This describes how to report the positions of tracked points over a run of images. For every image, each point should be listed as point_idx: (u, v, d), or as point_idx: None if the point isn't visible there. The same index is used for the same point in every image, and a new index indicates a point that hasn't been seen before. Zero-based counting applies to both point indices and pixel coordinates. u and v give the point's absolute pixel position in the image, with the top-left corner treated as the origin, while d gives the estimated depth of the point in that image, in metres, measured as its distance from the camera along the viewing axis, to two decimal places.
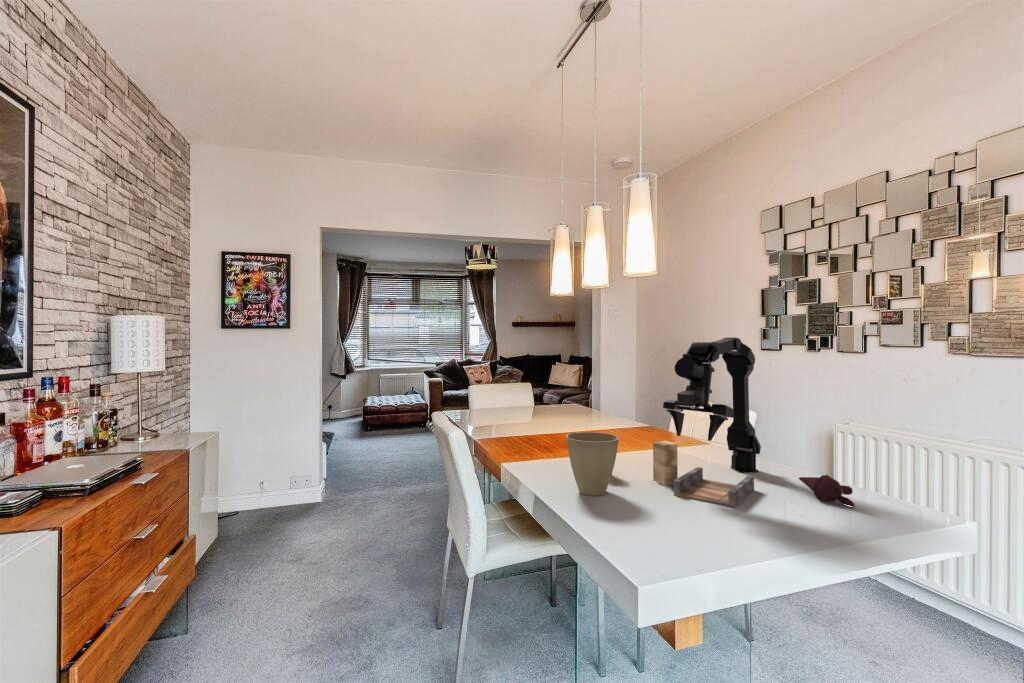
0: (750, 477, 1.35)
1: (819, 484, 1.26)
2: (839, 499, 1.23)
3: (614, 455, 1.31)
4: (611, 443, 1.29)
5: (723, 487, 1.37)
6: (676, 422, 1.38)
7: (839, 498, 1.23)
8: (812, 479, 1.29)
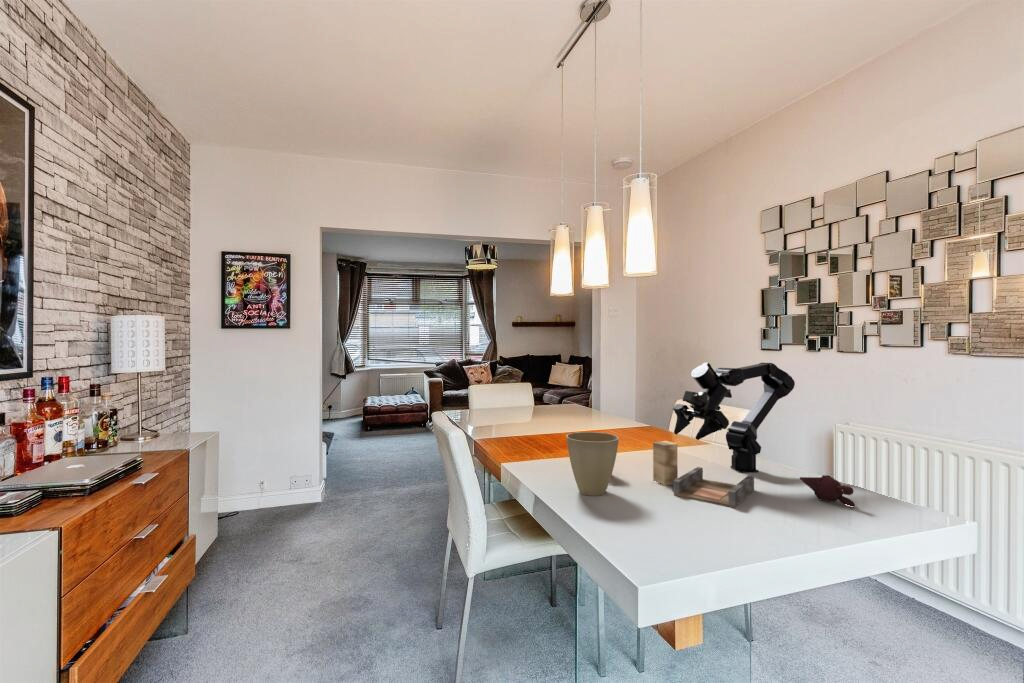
0: (750, 477, 1.35)
1: (820, 484, 1.26)
2: (840, 499, 1.23)
3: (614, 455, 1.31)
4: (611, 443, 1.29)
5: (723, 487, 1.37)
6: (678, 422, 1.52)
7: (840, 498, 1.23)
8: (813, 479, 1.29)
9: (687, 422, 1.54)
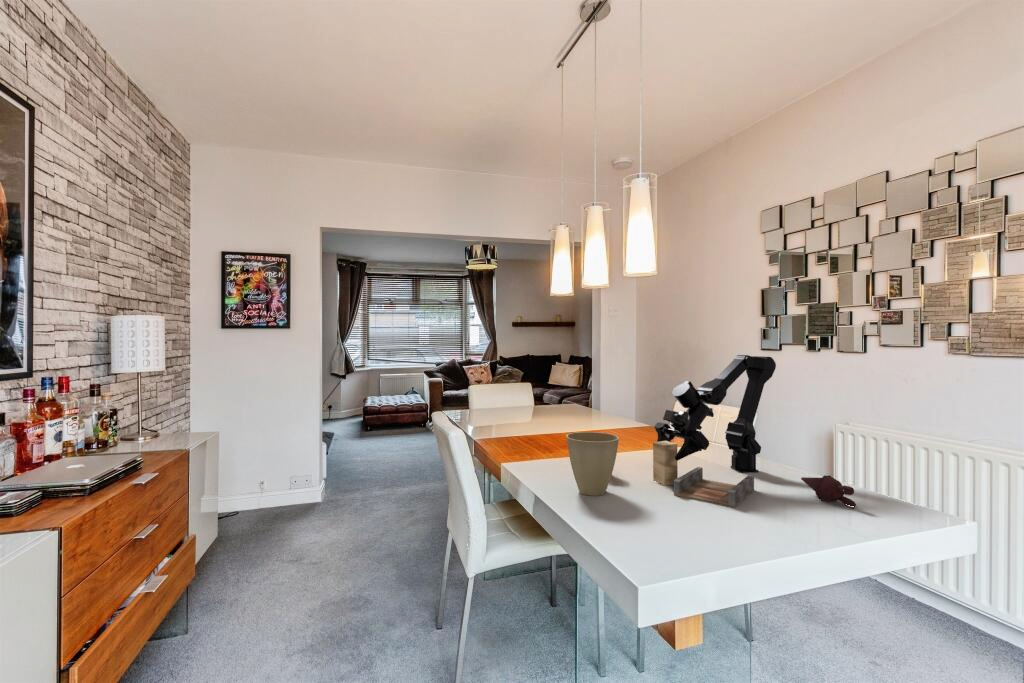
0: (750, 477, 1.35)
1: (821, 484, 1.26)
2: (841, 499, 1.23)
3: (614, 455, 1.31)
4: (611, 443, 1.29)
5: (723, 487, 1.37)
6: (658, 441, 1.49)
7: (841, 498, 1.23)
8: (814, 479, 1.29)
9: None
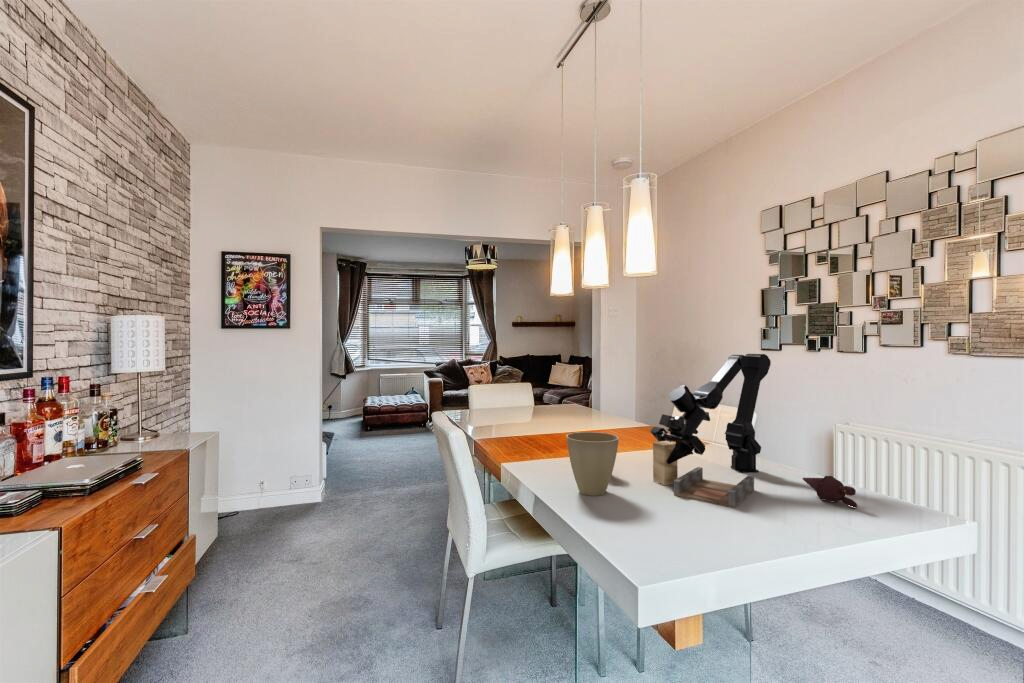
0: (750, 477, 1.35)
1: (822, 484, 1.25)
2: (842, 500, 1.23)
3: (614, 455, 1.31)
4: (611, 443, 1.29)
5: (723, 487, 1.37)
6: None
7: (842, 499, 1.23)
8: (815, 480, 1.29)
9: None
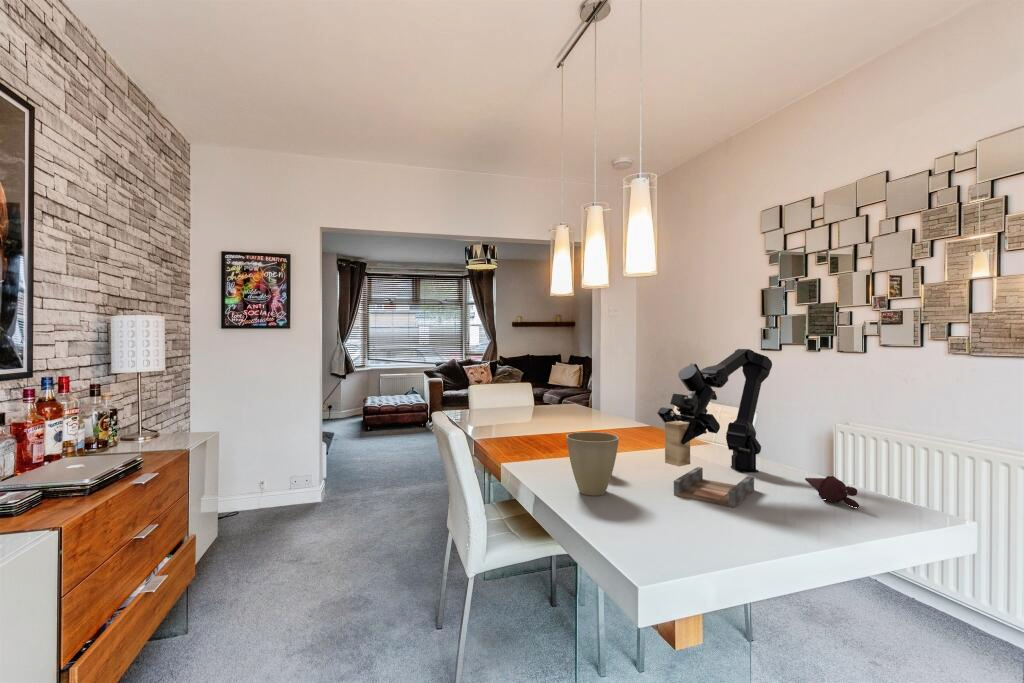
0: (750, 477, 1.35)
1: (824, 484, 1.25)
2: (844, 500, 1.22)
3: (614, 455, 1.31)
4: (611, 443, 1.29)
5: (723, 487, 1.37)
6: None
7: (844, 499, 1.22)
8: (817, 480, 1.29)
9: None
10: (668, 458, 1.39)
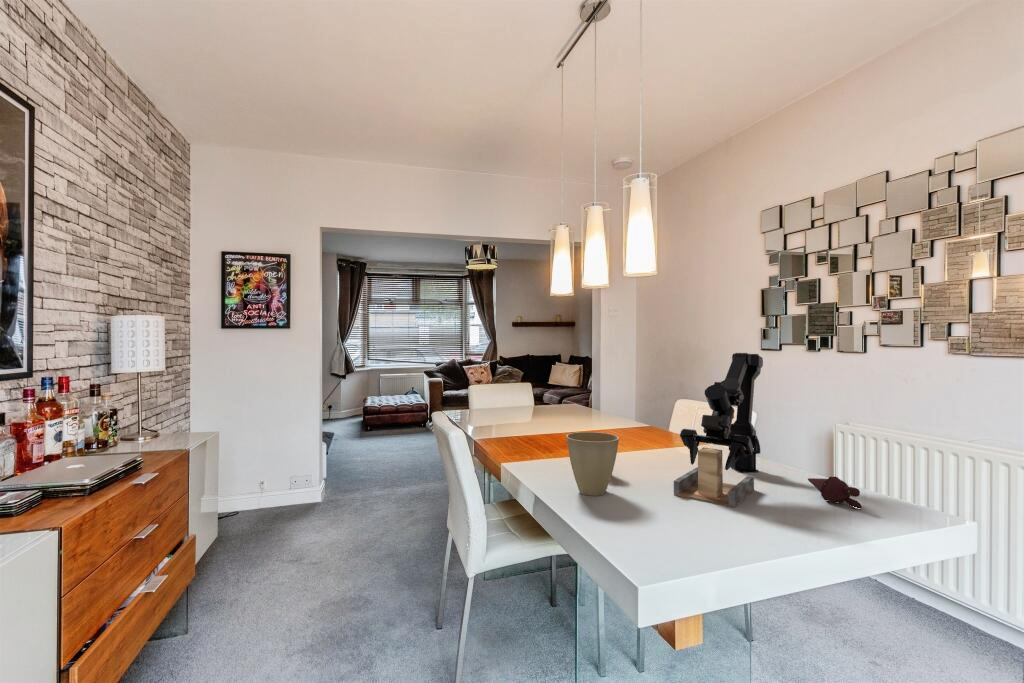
0: (750, 477, 1.35)
1: (826, 485, 1.25)
2: (847, 501, 1.22)
3: (614, 455, 1.31)
4: (611, 443, 1.29)
5: (723, 487, 1.37)
6: (692, 450, 1.35)
7: (847, 500, 1.22)
8: (820, 480, 1.28)
9: (697, 449, 1.38)
10: (702, 488, 1.30)
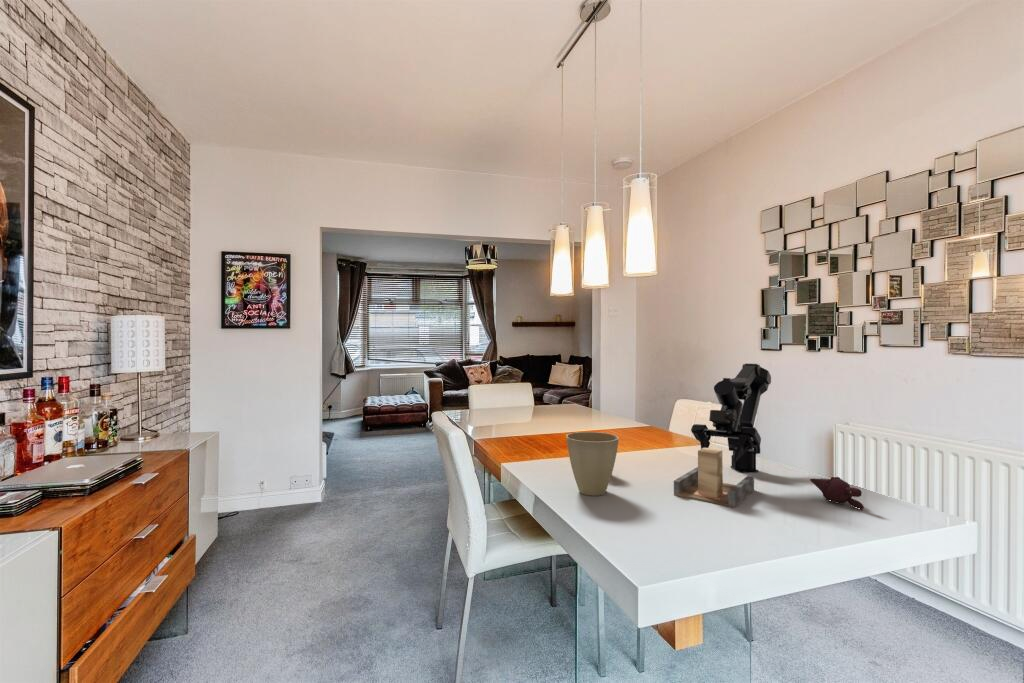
0: (750, 477, 1.35)
1: (828, 485, 1.24)
2: (849, 501, 1.22)
3: (614, 455, 1.31)
4: (611, 443, 1.29)
5: (723, 487, 1.37)
6: (703, 444, 1.43)
7: (849, 500, 1.22)
8: (822, 481, 1.28)
9: (708, 442, 1.45)
10: (702, 488, 1.30)
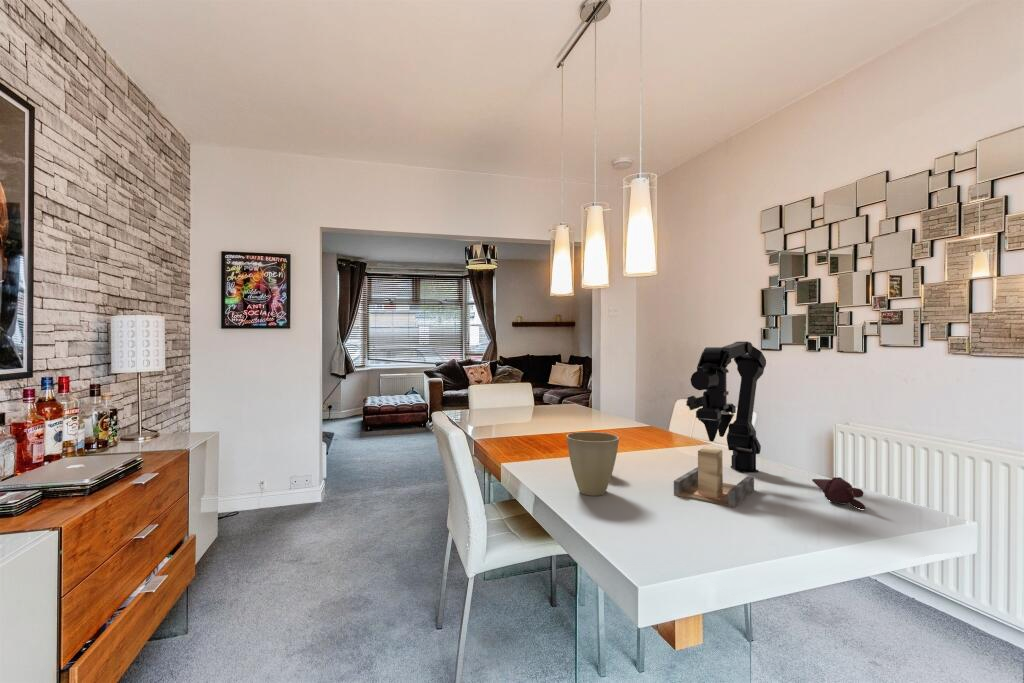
0: (750, 477, 1.35)
1: (830, 486, 1.24)
2: (850, 502, 1.21)
3: (614, 455, 1.31)
4: (611, 443, 1.29)
5: (723, 487, 1.37)
6: None
7: (850, 501, 1.21)
8: (824, 481, 1.27)
9: (727, 417, 1.47)
10: (702, 488, 1.30)
